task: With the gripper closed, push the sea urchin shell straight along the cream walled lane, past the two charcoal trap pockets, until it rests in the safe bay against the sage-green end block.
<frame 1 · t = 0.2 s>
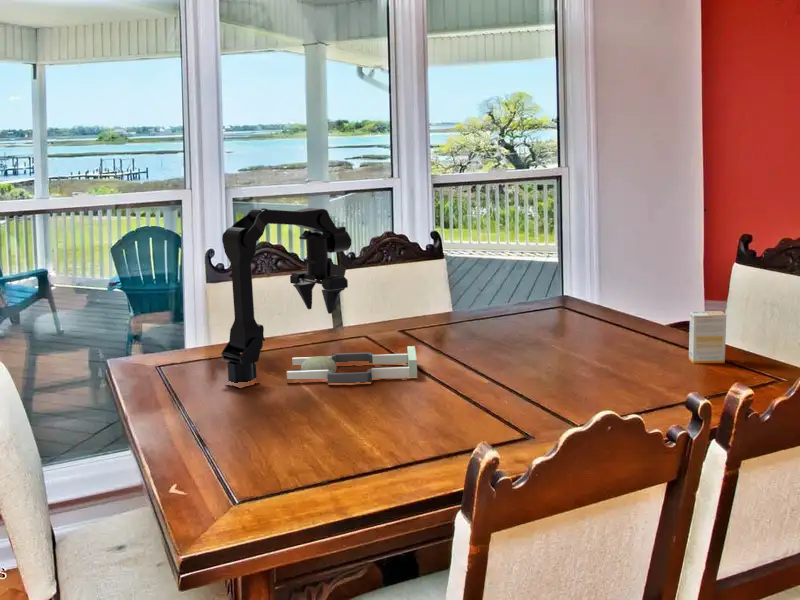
hand: (319, 311, 227), 14 cm above the table, fingers open, 9 cm apart
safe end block: (412, 371, 218), on the table
sea urchin shell: (319, 376, 217), on the table
supplement box: (706, 362, 218), on the table
trap lane: (340, 374, 217), on the table
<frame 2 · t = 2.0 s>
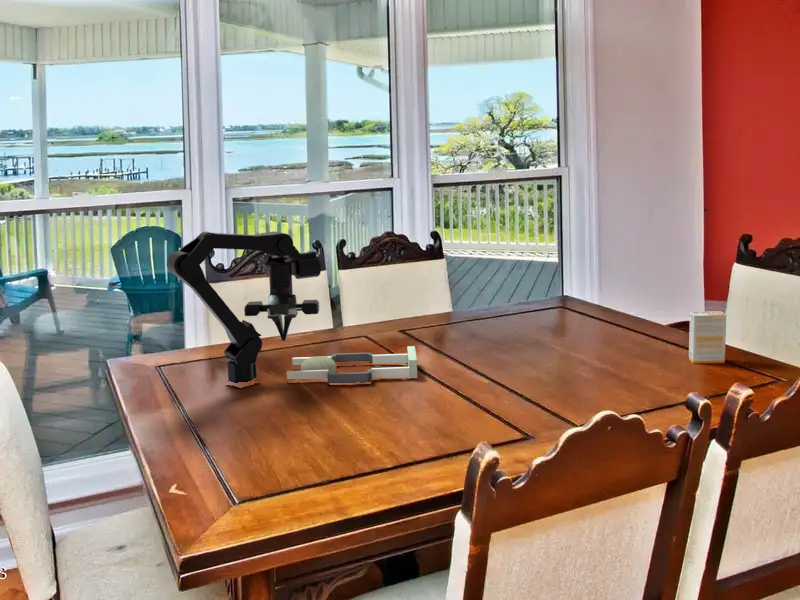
hand: (284, 340, 215), 10 cm above the table, fingers closed
nothing on the table moved.
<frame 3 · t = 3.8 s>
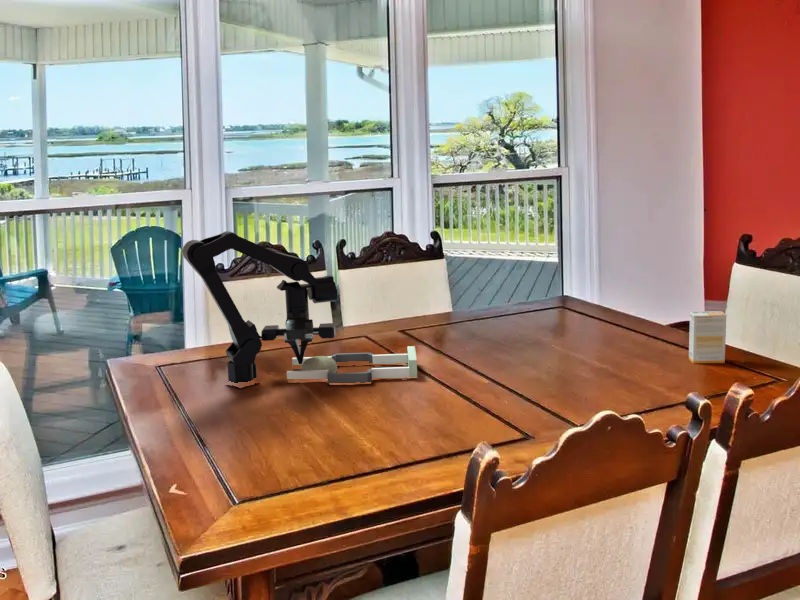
hand: (300, 363, 217), 3 cm above the table, fingers closed
sea urchin shell: (319, 376, 217), on the table, touching gripper
everything else where it was.
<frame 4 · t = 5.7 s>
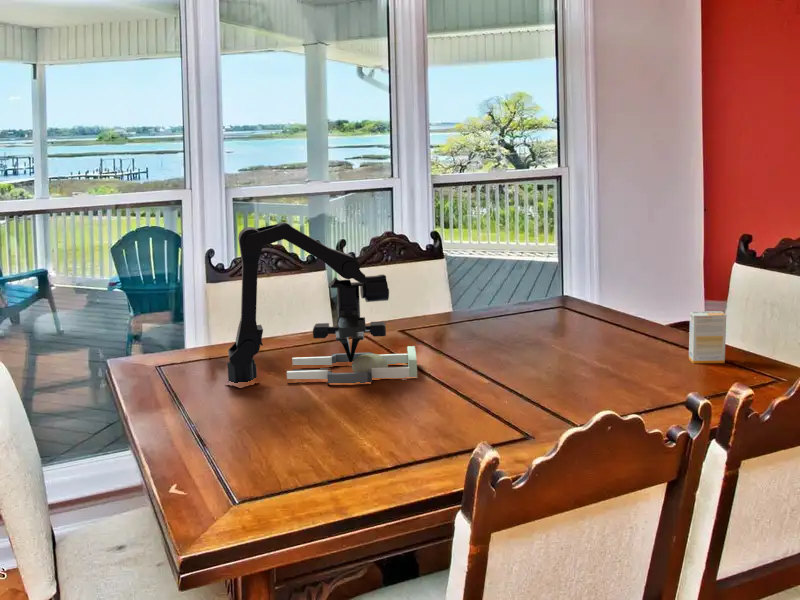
hand: (351, 361, 217), 3 cm above the table, fingers closed
sea urchin shell: (370, 373, 218), on the table, touching gripper
everything else where it was.
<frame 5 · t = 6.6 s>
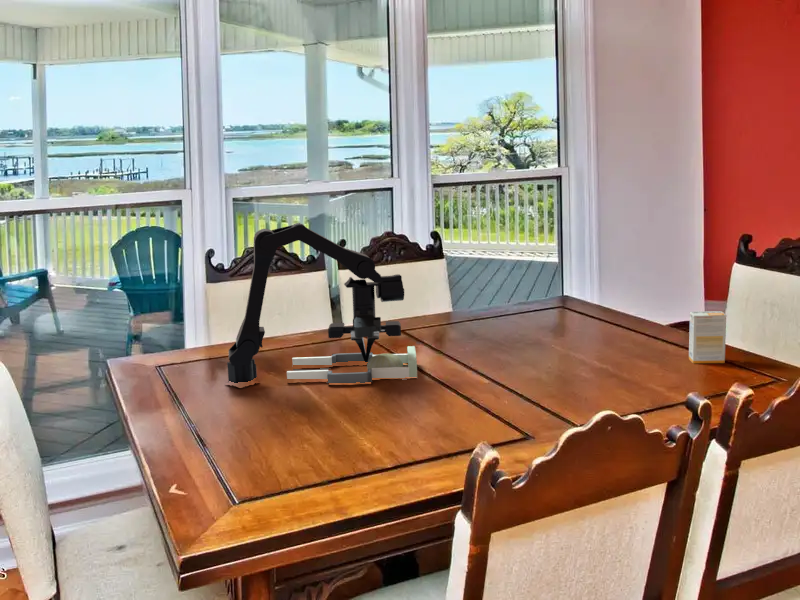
hand: (366, 361, 217), 3 cm above the table, fingers closed
sea urchin shell: (385, 373, 218), on the table, touching gripper
everything else where it was.
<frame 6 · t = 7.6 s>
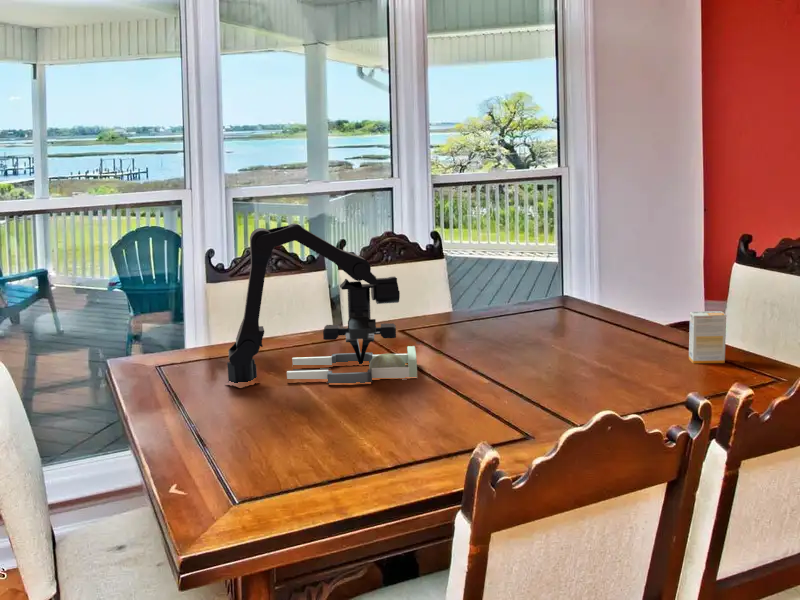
hand: (360, 363, 217), 3 cm above the table, fingers closed
sea urchin shell: (387, 373, 218), on the table
everything else where it was.
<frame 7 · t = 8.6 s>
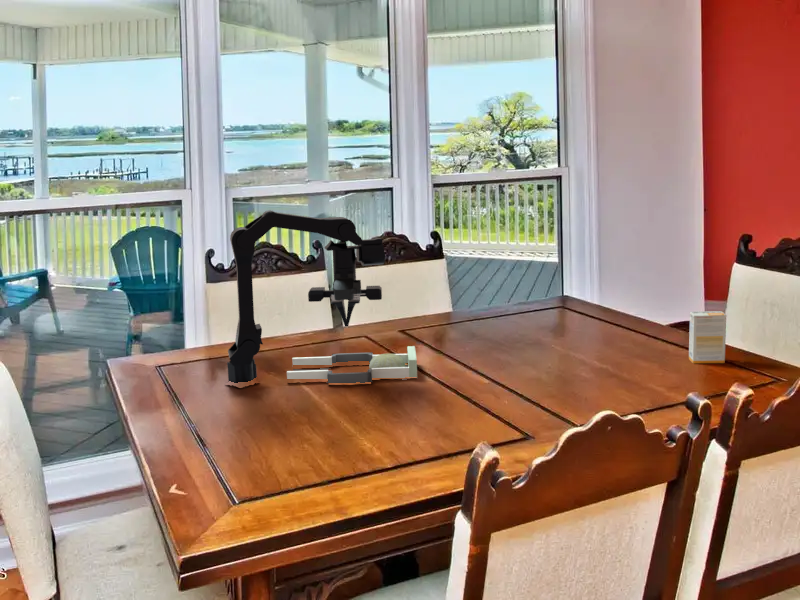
hand: (346, 326, 215), 13 cm above the table, fingers closed
nothing on the table moved.
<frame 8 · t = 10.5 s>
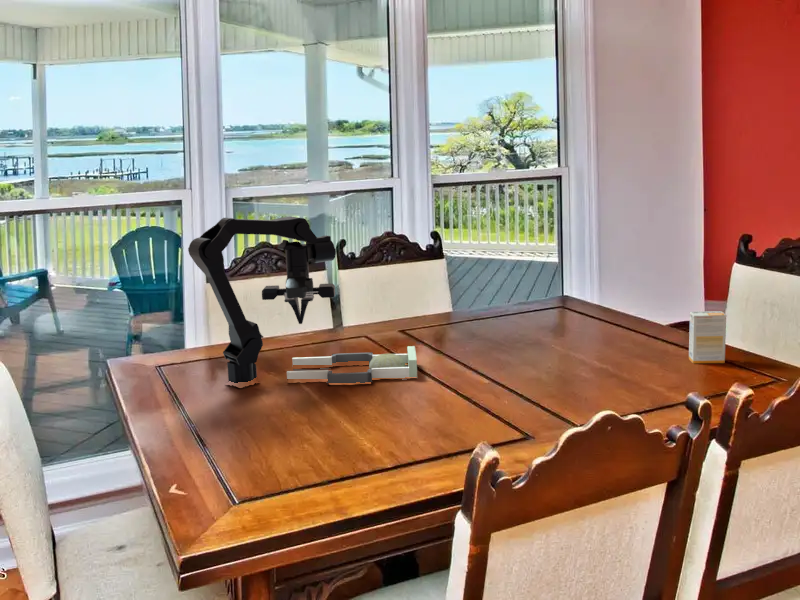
hand: (300, 323, 219), 13 cm above the table, fingers closed
nothing on the table moved.
at the end: sea urchin shell 6.6 cm from the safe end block (horizontally); sea urchin shell moved 17.9 cm from its start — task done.
